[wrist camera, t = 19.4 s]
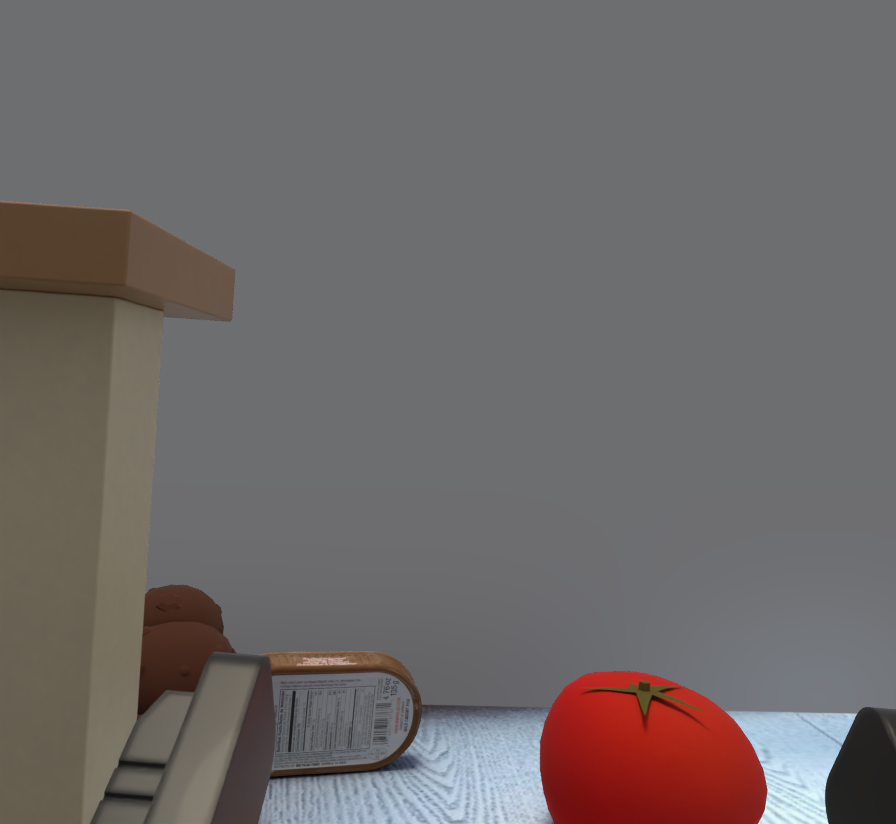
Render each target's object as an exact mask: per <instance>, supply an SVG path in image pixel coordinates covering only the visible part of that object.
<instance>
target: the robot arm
mask: <svg viewBox="0 0 896 824" xmlns="http://www.w3.org/2000/svg"><path fill="white" fill-rule="evenodd" d="M275 740H276V725H275V711H274V698H273V685H272V672H271V662H270V658H269V657H268V656H262V655H250V654H249V655H248V654H237V653H225V652H213V653H212V654H211V655H210V656H209V658H208V660H207V662H206V664H205V667H204V669H203V672H202V674H201V677H200V679H199V682H198V685H197V687H196V690H195V692H184V691H172V690H166V691H165V692H164V693H163V694H162V695H161V696H160V697H159V698H158V699H157V700H156V701H155V702H154V703H153V704H152V705H151V706H150V708H149V709H148V710H147V711H146V712H145V713H144V714H143V715H142V716H141V717H140V718H139V719H138V720H137V721H136V722H135V725H134V727H133V729H132V731H131V733H130V736H129V738H128V740H127V742H126V745H125V747H124V749H123V751H122V753H121V756H120V758H119V763H118V767H117V768H115V769H114V771H113V774H112V776H111V778H110V780H109V782H108V785H107V787H106V789H105V791H104V798H103V800H100V802H99V805H98V807H97V809H96V811H95V814H94V816H93V818H92V820H91V822H90V824H258V820H259V816H260V813H261V809H262V805H263V801H264V798H265V794H266V790H267V786H268V783H269V779H270V775H271V770H272V764H273V758H274V751H275ZM825 805H826V813H827V818H828V823H829V824H896V709H884V708H871V707H865V708H863V709H861V710H860V711H859V712H858V714H857V715H856V717H855V720H854V722H853V724H852V726H851V728H850V730H849V733H848V735H847V737H846V739H845V741H844V743H843V745H842V748H841V750H840V752H839V754H838V756H837V758H836V760H835V763H834V765H833V767H832V769H831V771H830V773H829V776H828V779H827V783H826V790H825Z"/></svg>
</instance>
